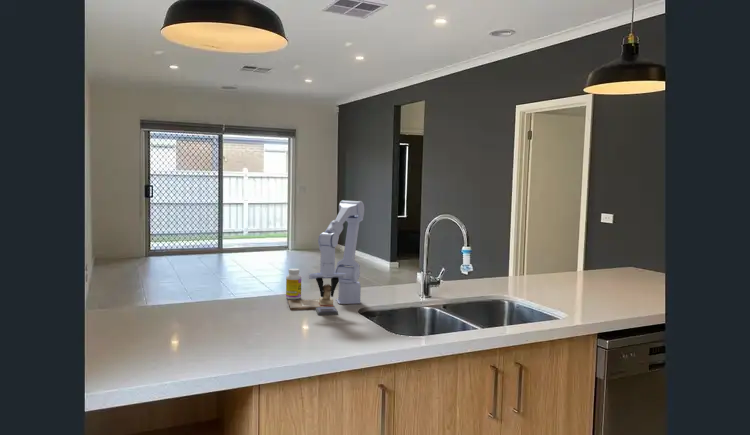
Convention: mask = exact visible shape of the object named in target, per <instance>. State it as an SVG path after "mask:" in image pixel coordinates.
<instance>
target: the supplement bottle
mask: <svg viewBox="0 0 750 435" xmlns="http://www.w3.org/2000/svg"><path fill="white" fill-rule="evenodd" d="M285 279H286V281H285V298H286V299H287V300H301V298H302V275H300V268H289V269H288V274H287V275H286V278H285Z"/></svg>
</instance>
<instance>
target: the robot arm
mask: <svg viewBox="0 0 750 435" xmlns="http://www.w3.org/2000/svg"><path fill="white" fill-rule="evenodd" d="M364 216H365V204H364V202H363V201H362V200H358V201H357V200H346V199H345V200H344V199H342V200H341V201H340V202H339V204H338V213H337V215H336V218H335V219H333V220H331V221H330V222H329V224H328V226H327V228H326V229H325V231H323V232H321V233H320V234H319V235H318V240H317V243H318V248H319V249H318V250H319V251H320V264H319V265H320V269H319V272H312V273H311V272H310V273H308V280H313V279H314V280H315V281H316V283H317V285H318V286H317V287H318V288H319V293H320V298H323V286H324V279H330V286H331V288H332V289H331V293H330V298H333V297H334V293H335V290H336V288H337V286H338V293H337V295H338V296H337V297H338V298H336V299H335V301H336V302H337V303H338V304H339V305H346V304H347V305H349V304H352V305H353V304H361V294H362V293H361V289H362V288H361V282H360V281H359V279H360V275H361V272H360V269H361V268H360V264H359V262H358V261H356V260H355V258H356V250H357V243H358V235H359V228H360V223H361V222H362V221H364ZM346 222H347V229H346V234H345V235H346V236H345V242H344V250H343V257H342V259H340V260H339V261H337V263H336V247H337V246H338V243H339V240H340V239H339V238H340V235H341V233H342V232H343V230H344V224H345V223H346Z"/></svg>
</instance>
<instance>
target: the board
mask: <svg viewBox="0 0 750 435" xmlns="http://www.w3.org/2000/svg"><path fill="white" fill-rule="evenodd" d="M287 304H288V307H289V310H290V311H299V310H300V311H304V310H305V311H306V310H307V311H308V310H311V311H312V310H315V308H317V307H335V308H336V306H335V305H334V304H333V306H320V304H319V298H318V299H315V298H314V299H287Z"/></svg>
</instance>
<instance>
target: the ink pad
mask: <svg viewBox="0 0 750 435" xmlns="http://www.w3.org/2000/svg"><path fill="white" fill-rule="evenodd" d="M314 310H315V313H316V314H317V316H326V315H327V316H329V315H331V316H332V315H334V316H335V315H336V316H337V315H339V311H338V310H337V308H336V306H335V307H317V308H315V309H314Z"/></svg>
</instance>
